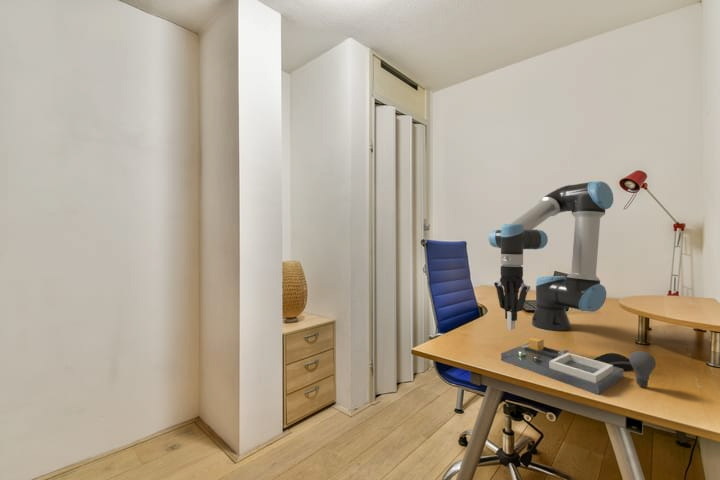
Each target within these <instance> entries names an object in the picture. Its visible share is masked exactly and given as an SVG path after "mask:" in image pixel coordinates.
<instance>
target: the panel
mask: <svg viewBox="0 0 720 480" xmlns="http://www.w3.org/2000/svg"><path fill="white" fill-rule="evenodd" d="M569 351H570V350H569V349H566V348H565V349H563V350H558V349H554V348H550V347H547V346H544V349H543V350H541V351H538V350H534V349H531V348H529V342H528V343H525V344H522V345H519V346H517V347H513V348H511V349H509V350H506V351H503V352H501V353H500V356H501V357H500V360H501V361H502V362H504V363H508V364H510V365H514V366H516V367H519V368H522V369H524V370H528V371H531V372H533V373H536V374H539V375H541V376H544V377H547V378H549V379H550V378H551V380H552V379H553V380H556V381H559V382H561V383H563V384H567V385H569V386H572V387H576V388H578V389H581V390H584V391H586V392H590V393H592V394H596V395H598V396H600V395H601V394H603V392H605V391H606V390H608V389H610V388H611V387H612V386H614V385H615V384H616V383H618V382H619V381H620V380H623V379H624V373H625V371H624V369H622V368H618V367H614V366H613V372H612V373H611V374H609V375H608V376H606V377H605V378H603V379H602V380H600V381H598V382H597V383H594V382H591V381H588V380H585V379H582V378H579V377H576V376H573V375H570V374H567V373H564V372H561V371H558V370H555V369H552V368H549V361H551V360H553V359H555V358H557V357H559V356H561V355H564V354H566V353H570V352H569ZM564 365H567V366H571V367H574V368H577V369H580V370H583V371H587V372H590V373H595V372H597V371H598V370H600V369H597V368H593V367H590V366H587V365H583V364H580V363H577V362H573V361H568V362H566V363H564Z"/></svg>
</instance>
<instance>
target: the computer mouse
mask: <svg viewBox="0 0 720 480" xmlns="http://www.w3.org/2000/svg"><path fill="white" fill-rule="evenodd" d="M591 359H592V358H591ZM592 360H596V361H600V362H603V363H607V364H610V365H613V366H614V367H618V368H622V369H624V372H625V371H626V372H629V371H634V369H633V367H632V365H631V364H630V361H629V357H626V356H624V355H622V354H621V353H615V352H609V353H605V354H601V355H599V356H597V357H595V358H593V359H592Z"/></svg>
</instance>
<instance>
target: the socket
mask: <svg viewBox="0 0 720 480" xmlns="http://www.w3.org/2000/svg"><path fill="white" fill-rule="evenodd" d="M568 361H573V362H577V363H580V364H583V365H587V366H590V367H593V368H597V369H600V370H598V371H597V372H595V373H590V372H587V371H583V370H580V369H577V368H574V367H571V366H567V365H564V363H566V362H568ZM549 368H552V369H555V370H558V371H561V372H564V373H567V374H570V375H573V376H576V377H579V378H582V379H585V380H588V381H591V382H594V383H597V382H598V381H600V380H602V379H603V378H605V377H606V376H608V375H609V374H611V373H612V372H613V365H610V364H607V363H603V362H600V361H596V360H592V358H588V357H584V356H581V355H577V354H574V353H570V352H569V353H566V354H564V355H561V356H559V357H557V358H555V359H553V360H551V361H549Z"/></svg>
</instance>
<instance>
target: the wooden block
mask: <svg viewBox="0 0 720 480" xmlns="http://www.w3.org/2000/svg"><path fill="white" fill-rule="evenodd" d="M544 340H545V339H543V338H540V337H537V336H534V337H531V338H528V343H529V348H531V349H534V350H538V351H541V350H543V349H544V347H545V346H544V344H545V342H544Z"/></svg>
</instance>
